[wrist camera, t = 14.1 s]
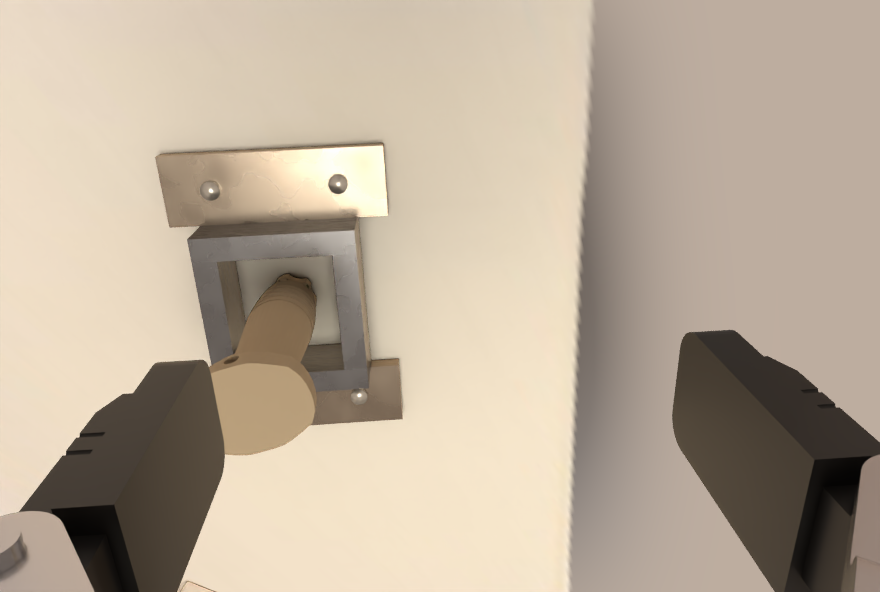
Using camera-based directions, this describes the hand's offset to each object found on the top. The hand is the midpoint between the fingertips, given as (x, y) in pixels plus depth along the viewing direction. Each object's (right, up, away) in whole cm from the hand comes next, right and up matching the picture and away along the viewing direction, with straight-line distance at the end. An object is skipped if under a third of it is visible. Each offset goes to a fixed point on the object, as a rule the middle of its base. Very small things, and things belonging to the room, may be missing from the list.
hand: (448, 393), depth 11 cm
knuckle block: (-10, +2, +34) cm, 36 cm away
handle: (-10, +2, +34) cm, 36 cm away
